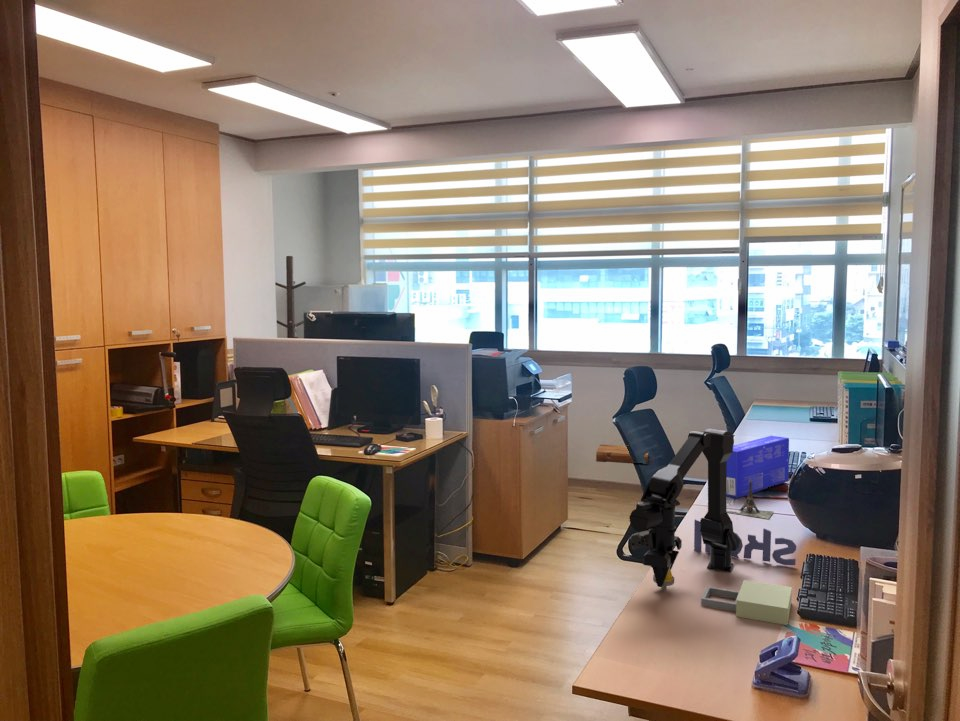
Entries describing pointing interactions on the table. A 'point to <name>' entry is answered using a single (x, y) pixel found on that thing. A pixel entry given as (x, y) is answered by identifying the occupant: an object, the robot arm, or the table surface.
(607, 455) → the brown wooden slab
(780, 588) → the green box with handle
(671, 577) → the yellow cone shape
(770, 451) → the toner cartridge box
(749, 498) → the eiffel tower figurine
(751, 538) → the signage
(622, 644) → the table surface
